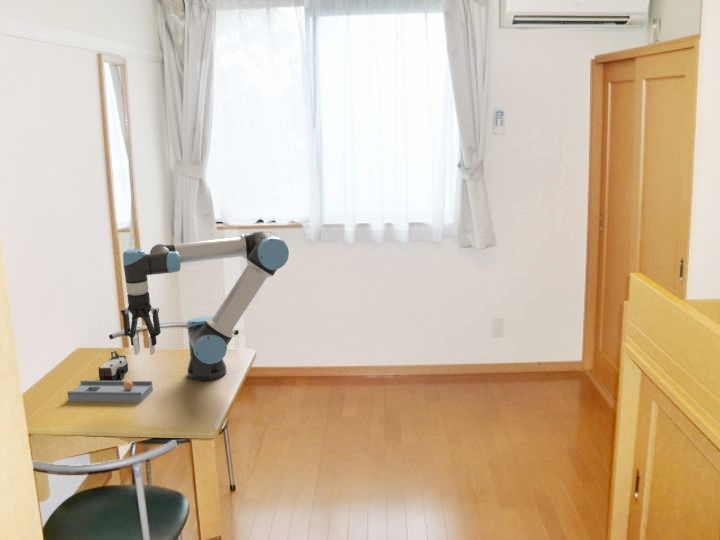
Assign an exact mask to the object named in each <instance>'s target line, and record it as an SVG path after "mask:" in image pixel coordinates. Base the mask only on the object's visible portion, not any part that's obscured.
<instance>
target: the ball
mask: <svg viewBox="0 0 720 540" xmlns="http://www.w3.org/2000/svg"><path fill="white" fill-rule="evenodd" d="M124 381H125V382H124V383H123V387H124V389H126V390H130V389H131V388H132V387H133V383H132V382H131V381H132V380H124Z"/></svg>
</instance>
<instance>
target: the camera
mask: <svg viewBox="0 0 720 540" xmlns="http://www.w3.org/2000/svg"><path fill="white" fill-rule="evenodd" d="M117 350H118V349H117V348H115V349H113V350H112V351H111V352H110V355H111V357H110V358H109V359H108V360H107V361H106V362H104V364H102V365H101V366H98V378H99V381H123V380H125V374H127V373H128V372H129V366H128V365H129V364H128V363H129V362H128V358H127V356H126V355H125V354H121V355H120V354H119V353H118V352H117ZM114 354H115V355H114Z"/></svg>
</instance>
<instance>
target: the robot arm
mask: <svg viewBox="0 0 720 540" xmlns="http://www.w3.org/2000/svg"><path fill="white" fill-rule="evenodd" d="M289 251H290V250H289V247H288V245H287V244H286V241H285V240H284V239H282V238H281V237H279V236H278V235H276V233H273V232H272V231H268V230H262V231H254V232H249V233H242V234H241V235H240V236H238V237H229V238H220V239H210V240H202V241H200V240H199V241H192V242H184V243H175V244H166V245H165V244H162V243H158V244H155V245H153V246H152V247H151V249H150V251H149V253H145V250H144V249H143V248H142V249H141V248H132V249H127V250H125V251H124V252H123V254H122V262H123V263H122V264H123V271H124V279H125V286H126V293H127V295H126V296H127V304H128V306H127V307H124V308H122V309H121V310H120V314H121V315H122V319H123V333H124V336H126V337H129V338H130V345H131V346H133V353H134V355H135V356H136V355H138V354H139V353H140V344H139V337H138V336H139V335H137V326H138V321H139V318H140V319H142V320H143V321H144V324H145V326H146V329H147V331H148V333H149V335H150V336H149V337H148V343H149V344H148V345H149V354H150V355H149V356H153V355H154V354H155V353H156V347H155V346H156V345H157V337H158V336H159V335H160V334H161V324H160V318H159V311H160V308H159V307H156V308H155V307H152V305H151V299H150V292H149V281H148V276H149V275H150V276H153V275H163V274H172V273H178V272H180V271H181V268H182V267H181V264H187V263H189V264H190V263H197V262H205V261H214V260H221V259H232V258H238V257H239V258H240V257H241V258H243V259H246V267H245V268H244V270H243V272H242V273H241V275H240V276H239V278H238V279H237V280H236V282H235V284H234V285H233V286H232V288H231V290H230V291H229V293H228V294H227V295H226V298H225V299H224V301H223V302H222V304H221V305H220V306H219V307H218V309H217V311H216V313H215V314H214V316H200V317H195V318H191V319H189V320H187V323H186V324H187V326H186V328H187V335H188V344H189V354H190V355H189V361H188V367H187V378H188V379H190V380H192V381H200V382H201V381H213V380H216V379H219V378H222V377H223V376H225V375H226V373H227V365H226V364H225V360H224V357H226V354H227V350H228V347H227V346H228V345H229V344H230V342H231V340H232V338H233V337H234V335H233V330H234V329H235V326H237V324H238V323H239V321H240V320H241V318H242V316H243V315H244V314H245V311H246V310H247V309H248V307H249V305H250V304H251V303H252V301H253V299H254V298H255V297H256V295H257V293H258V292H259V290H260V289H261V287H262V286H263V284H264V283H265V282H266V280H267V278H272V277H273V276H274V275H275V273H276V272H277V270H279V269H281V268H283V266H285V265H286V264H287V262H288V259H289V255H290V252H289ZM150 313H151V315H152V320H151V316H150ZM130 314H131V322H130Z"/></svg>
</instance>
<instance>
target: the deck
mask: <svg viewBox="0 0 720 540" xmlns="http://www.w3.org/2000/svg"><path fill="white" fill-rule="evenodd" d="M125 381H126V380H118V381H100V380H80V382H79V383H80V384H79V385H78V386H77V387H76V388H74V389H73V390H72V391H71V390H70V391H67V399H68V402H72V403H73V402H75V403H76V402H78V403H79V402H83V403H85V402H89V403H90V402H92V403H95V402H97V403H101V402H103V403H142V402H143V401H144V400H145V399H147V397H149V395H150V394H151V393H152V392H153V390H154V387H153V381H152V380H130V381H131V382H132V383H133V387H132V388H131V389H130V390H126V389H124V387H123V383H124V382H125Z"/></svg>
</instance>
